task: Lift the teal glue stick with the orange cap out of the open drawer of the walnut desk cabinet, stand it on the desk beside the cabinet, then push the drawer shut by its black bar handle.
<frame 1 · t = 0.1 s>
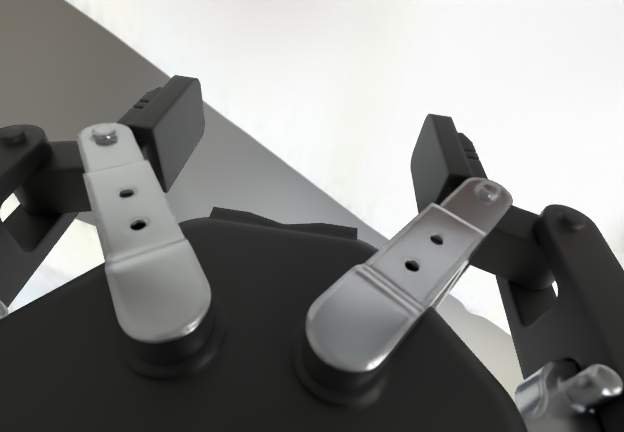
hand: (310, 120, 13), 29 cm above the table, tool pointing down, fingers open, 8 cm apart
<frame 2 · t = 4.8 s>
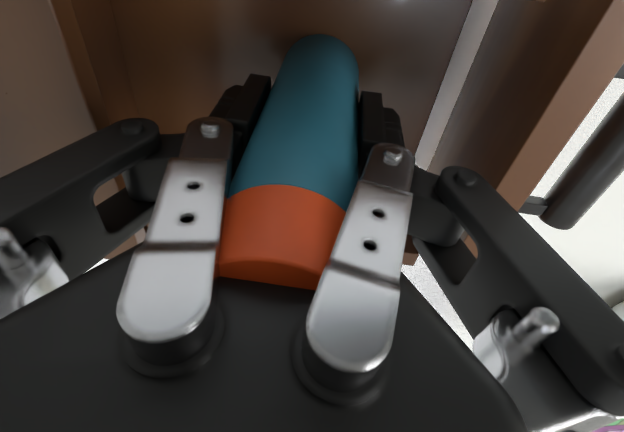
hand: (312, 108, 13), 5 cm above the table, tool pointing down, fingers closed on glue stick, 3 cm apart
glue stick: (320, 75, 16), point 2 cm above the table, touching drawer, gripper
cabinet: (1, 10, 17), on the table
city model: (552, 424, 46), on the table
drawer: (345, 102, 14), point 4 cm above the table, slide at 13.0 cm, touching glue stick
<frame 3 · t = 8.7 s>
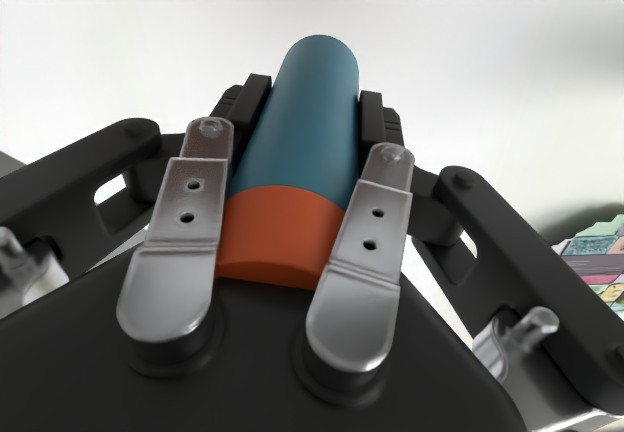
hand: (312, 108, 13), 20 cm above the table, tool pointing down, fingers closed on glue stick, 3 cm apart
glue stick: (320, 75, 16), point 17 cm above the table, touching gripper
city model: (593, 267, 47), on the table
when the fingers open (3 cm above the table, at t = 12.6 s): glue stick stays where it is, on the table.
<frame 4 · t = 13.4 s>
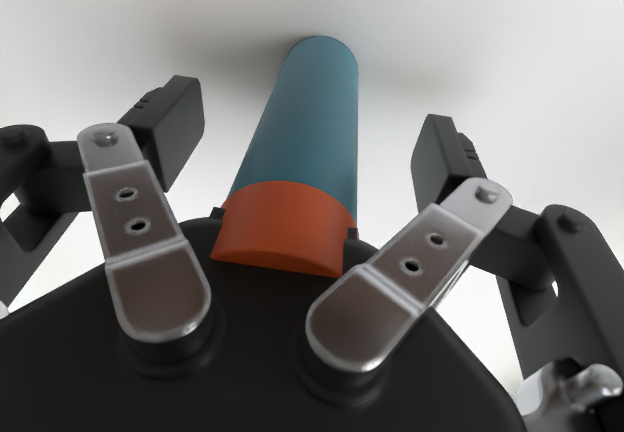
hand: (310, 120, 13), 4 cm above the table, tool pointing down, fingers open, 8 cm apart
glue stick: (320, 75, 16), on the table
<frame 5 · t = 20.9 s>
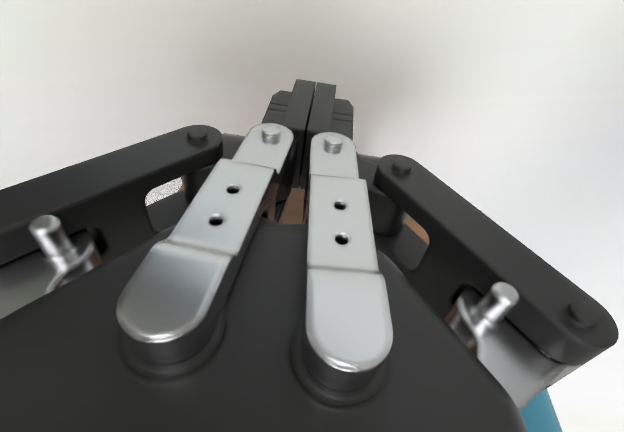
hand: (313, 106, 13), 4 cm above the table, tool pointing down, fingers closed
glue stick: (489, 302, 27), on the table
drawer: (292, 292, 21), point 4 cm above the table, slide at 13.0 cm, touching gripper
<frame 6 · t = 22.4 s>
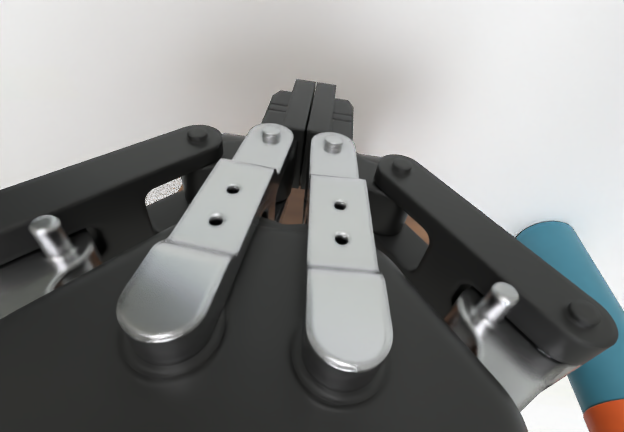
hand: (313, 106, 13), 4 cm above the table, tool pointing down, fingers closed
glue stick: (543, 240, 22), on the table
drawer: (292, 292, 21), point 4 cm above the table, slide at 5.6 cm, touching gripper
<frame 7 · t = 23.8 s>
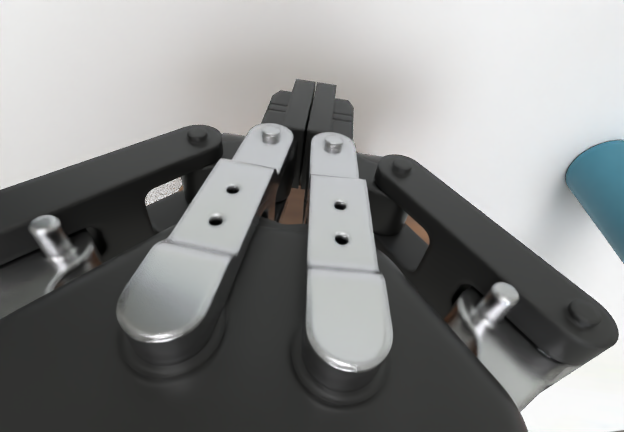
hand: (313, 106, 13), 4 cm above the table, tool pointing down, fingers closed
glue stick: (602, 168, 18), on the table
drawer: (292, 295, 21), point 4 cm above the table, slide at 0.0 cm, touching cabinet, gripper
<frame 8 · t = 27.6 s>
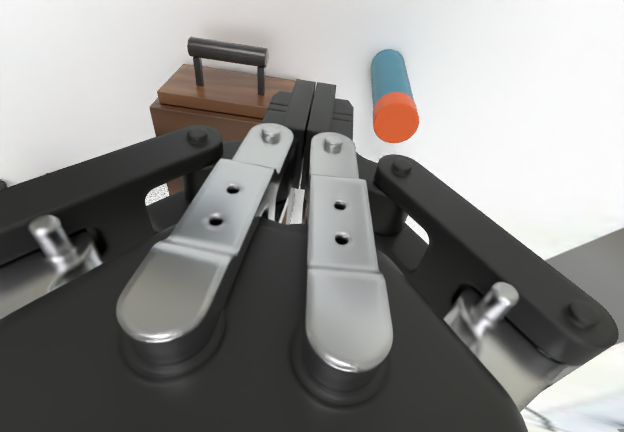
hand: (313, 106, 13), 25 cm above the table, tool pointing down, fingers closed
glue stick: (387, 66, 36), on the table
cabinet: (245, 150, 45), on the table
drawer: (235, 142, 39), point 4 cm above the table, slide at 0.0 cm, touching cabinet
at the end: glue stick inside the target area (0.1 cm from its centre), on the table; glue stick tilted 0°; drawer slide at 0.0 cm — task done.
